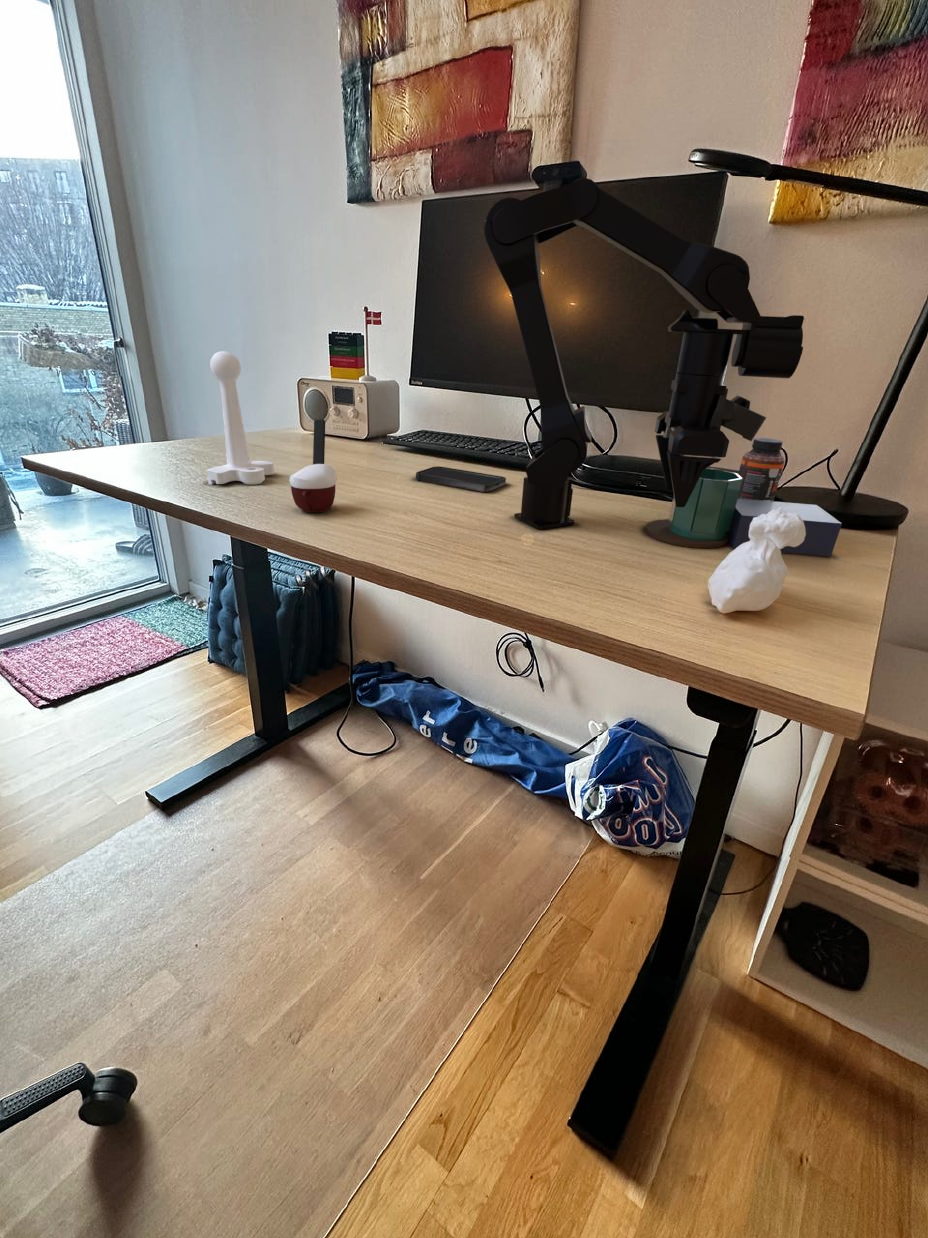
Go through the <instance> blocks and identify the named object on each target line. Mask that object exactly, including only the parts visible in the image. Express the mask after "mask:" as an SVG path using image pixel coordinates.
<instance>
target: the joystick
mask: <svg viewBox="0 0 928 1238" xmlns="http://www.w3.org/2000/svg"><path fill="white" fill-rule="evenodd" d="M209 368H210V370H211V372H212V374H213V375H214V376H215V377H216V379H217V381H218V382H219V387H220V396H221V408H222V419H223V421H222V422H223V431H224V442H225V443H224V444H225V454H226V464H224V465H217V466H215V467H210V468H207V469H206V470H205V471H206V478H207V483H208V485H211V486H212V485H214V484H217V485H223V484H228V483H229V482H235V481H236V482H237V481H238V482H242V483H243V484H244V485H260V484H262V483H263V482H264V481H265V480H266V476H268V475H269V476H270V475H275V474H276V473H275V464H274V462H271V461H267V460H250V456H249V455H250V454H249V450H248V445H247V439H246V434H245V428H244V423H243V416H242V412H241V406H240V401H239V395H238V390H237V380H238V378H239V376H240V375H241V369H242V367H241V363H240V360H239V359H238V357H237V356H236V355H234V354H233V353H232V352H229V351H226V350H219V351H217V352H215V353H214V354H213V355H212V357H211V358H210V363H209Z"/></svg>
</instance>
